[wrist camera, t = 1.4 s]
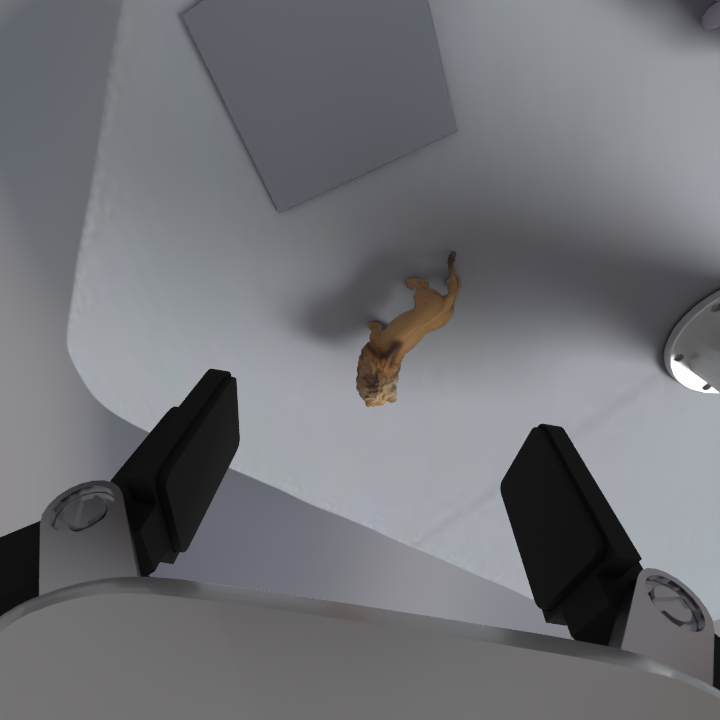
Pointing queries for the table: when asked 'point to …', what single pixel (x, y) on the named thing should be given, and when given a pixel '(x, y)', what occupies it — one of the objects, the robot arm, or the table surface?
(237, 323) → the table surface
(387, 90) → the mat
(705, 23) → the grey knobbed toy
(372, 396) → the lion figurine
